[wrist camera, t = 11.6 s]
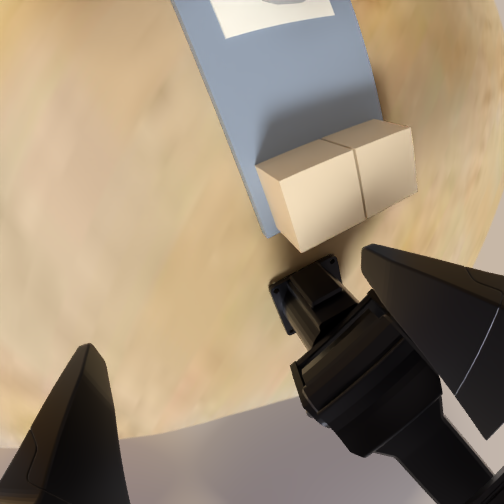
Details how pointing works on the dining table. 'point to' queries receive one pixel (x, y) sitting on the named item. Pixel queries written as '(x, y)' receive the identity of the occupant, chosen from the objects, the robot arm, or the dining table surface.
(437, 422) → the robot arm
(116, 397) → the dining table surface
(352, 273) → the dining table surface
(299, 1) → the salt shaker
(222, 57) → the board
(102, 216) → the dining table surface
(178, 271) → the dining table surface
